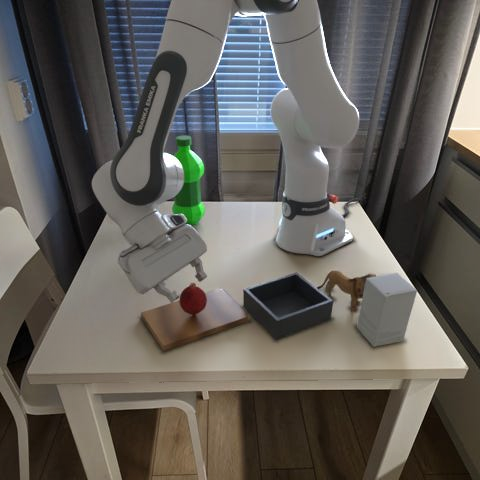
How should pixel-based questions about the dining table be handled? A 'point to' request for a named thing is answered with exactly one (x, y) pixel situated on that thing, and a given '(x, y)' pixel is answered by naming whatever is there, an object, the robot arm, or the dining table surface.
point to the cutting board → (193, 320)
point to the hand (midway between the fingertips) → (190, 289)
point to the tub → (287, 305)
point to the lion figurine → (346, 285)
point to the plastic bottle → (189, 183)
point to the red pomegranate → (193, 299)
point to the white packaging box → (385, 309)
